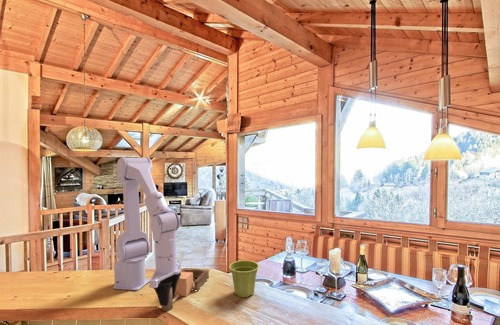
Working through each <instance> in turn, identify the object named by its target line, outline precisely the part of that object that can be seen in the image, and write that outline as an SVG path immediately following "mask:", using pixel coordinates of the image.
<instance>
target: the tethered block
mask: <svg viewBox="0 0 500 325" xmlns="http://www.w3.org/2000/svg"><path fill="white" fill-rule="evenodd" d="M180 272H181V271H180ZM192 289H193V290H194V278H193V272H181V276H180V278H179V280H178V283H177V286H176V291H175V296H174V299H172V286H171V287H170V292H169V302H168V305H167V306H162V305H161V310H162V312H169V311H171V310H173V307H174V306H173V304H174V302H175V301H176V300H178V298H179V297H188V296H189V295H190V294H191V292H192V291H193V290H192ZM191 290H192V291H191ZM190 291H191V292H190ZM188 294H189V295H188ZM187 295H188V296H187Z"/></svg>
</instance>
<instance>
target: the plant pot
mask: <svg viewBox="0 0 500 325" xmlns="http://www.w3.org/2000/svg"><path fill="white" fill-rule="evenodd" d="M259 265H260V264H259V263H258V262H255V261H253V260H245V259H244V260H238V261H233V262H232V263H230V264H229V270H230V273H231V276H232V282H233V290H234V295H237V297H239V298H248V297H250V296H253V295H254V294H255V287H256V280H257V273H258V269H259V268H260V266H259Z"/></svg>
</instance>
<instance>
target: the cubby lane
mask: <svg viewBox="0 0 500 325" xmlns="http://www.w3.org/2000/svg"><path fill="white" fill-rule="evenodd" d="M180 272H193V279H195V278H197V279H195V280H193V289H194V291H195V290H201V288H202V287H203V286H204V285H205V283H206V282H207V281H208V280H209V278H210V270H209V268H207V269H204V268H188V267H187V268H185V267H184V268H182V270H180ZM207 279H208V280H207ZM206 280H207V281H206ZM205 281H206V282H205ZM202 285H203V286H202ZM201 286H202V287H201ZM200 287H201V288H200Z"/></svg>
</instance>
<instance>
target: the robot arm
mask: <svg viewBox="0 0 500 325" xmlns="http://www.w3.org/2000/svg"><path fill="white" fill-rule="evenodd" d="M152 173H153V162H152V159H151V158H150V157H149V156H144V157H119V159H118V161H117V164H116V175H117V176H116V177H117V182H118V183H119V184H122V192H123V193H122V195H123V196H122V198H123V213H124V214H123V216H124V232H123V233H122V234H120V235H119V236H118V237H117V239H116V247H115V253H116V258H117V259H118V260H117V261H116V262H115V265H114V268H113V270H114V271H113V272H114V276H113V277H114V278H113V279H114V286H113V287H112V289H114V290H116V289H117V290H124V291H125V290H127V291H140V289H142V288H143V287H145V285H147V284H148V283H149V288H150V289H151V288H152V289H154V291H155V293H156V296H157V299H158V302H159V305H160V306H161V307H162V306H167V305H168V302H169V292H170V287H171V286H172V299H174V297H175V296H176V295H175V291H176V286H177V283H178V280H179V278H180V276H181V267H182V266H181V264H182V263H181V262H182V261H181V260H177V242H176V241H177V240H176V234H177V232H176V231H177V230H178V229H179V228H180V218H179V214H178V213H177V211H175V210H173V209H172V208H170V207H169V204H168V203H167V200H166V198H165V196H164V195H163V193H162V192H160V191H158V188H157V187H156V184H155V181H154V179H153V176H152ZM139 187H140V189H141V190H142V192H143V194H144V196H145V197H144V200H143V203H144V205H145V207H146V209H147V211H148V214H149V216H150V229H151V233H152V238H153V241H154V250H155V252H154V253H155V255H154V256H155V271H154V273H153V275H152V277H151V278H146V259H147V256H148V255H149V254H150V252H151V243H150V241H149V240H150V239H149V235H148V233H147V232H146V231H143V230H142V229H141V228H142V227H141V212H140V196H139Z"/></svg>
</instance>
